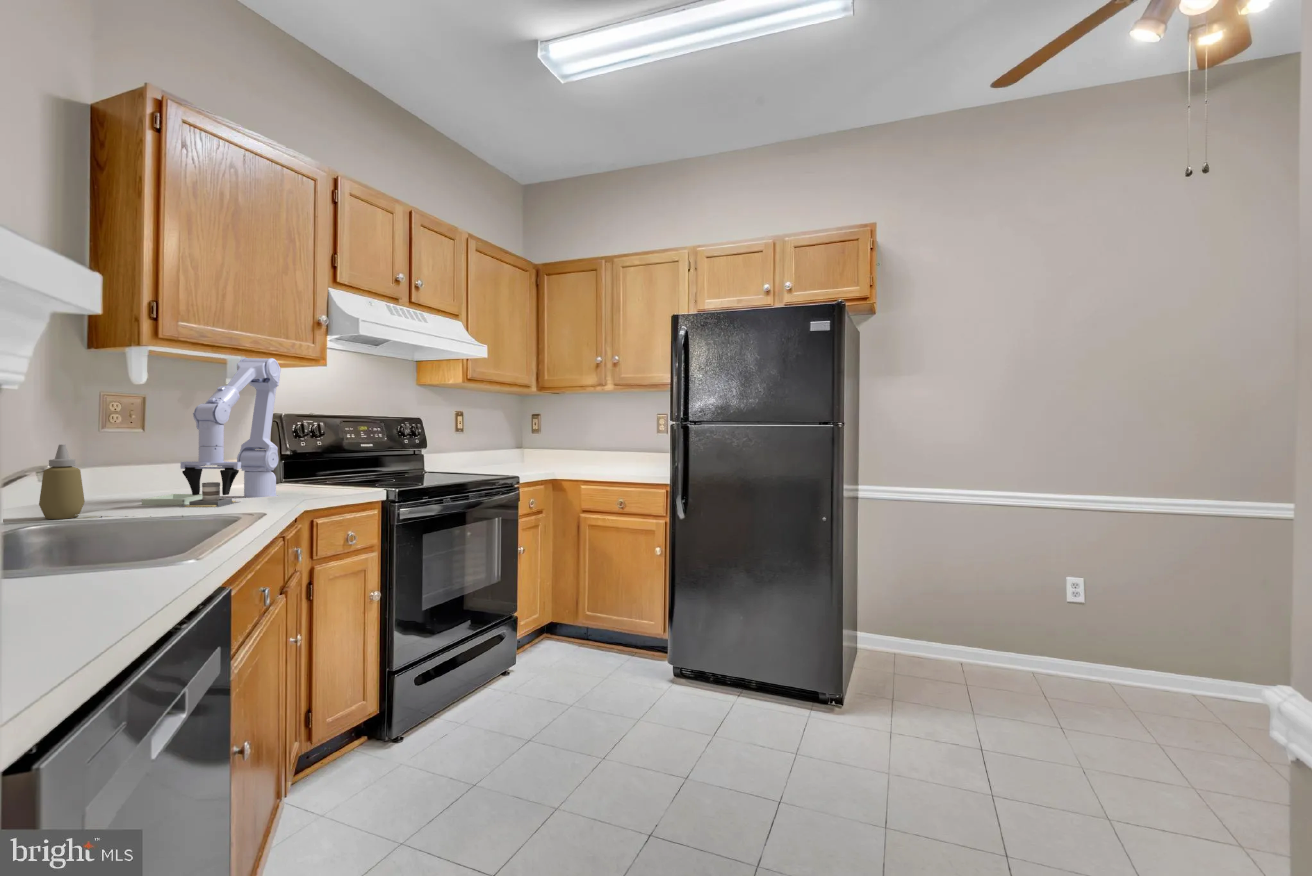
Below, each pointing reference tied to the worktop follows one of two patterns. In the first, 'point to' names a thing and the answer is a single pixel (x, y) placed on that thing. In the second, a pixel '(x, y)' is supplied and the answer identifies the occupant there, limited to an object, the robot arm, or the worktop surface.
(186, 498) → the parts tray
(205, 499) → the cylinder
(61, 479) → the squeeze bottle
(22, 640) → the worktop surface
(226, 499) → the fuse holder
